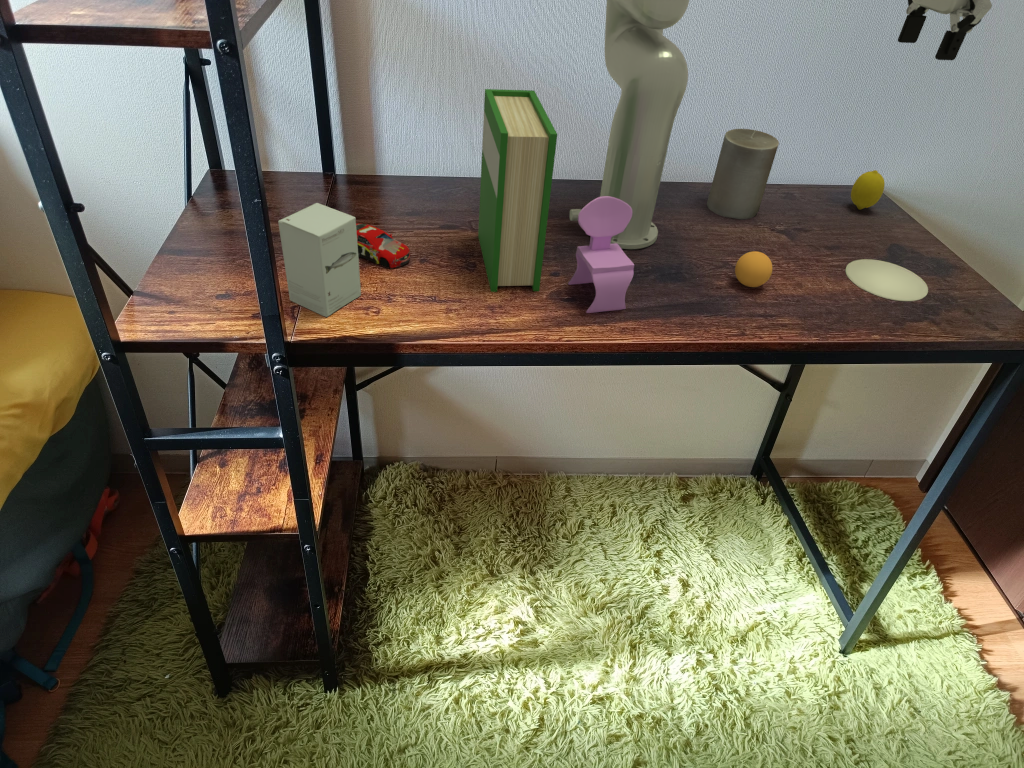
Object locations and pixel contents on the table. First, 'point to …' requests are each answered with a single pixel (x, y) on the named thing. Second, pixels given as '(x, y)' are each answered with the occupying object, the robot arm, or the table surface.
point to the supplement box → (321, 258)
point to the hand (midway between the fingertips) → (924, 50)
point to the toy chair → (604, 253)
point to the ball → (753, 269)
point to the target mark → (886, 280)
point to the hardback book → (515, 186)
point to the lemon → (867, 189)
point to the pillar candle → (742, 173)
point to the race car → (380, 247)
